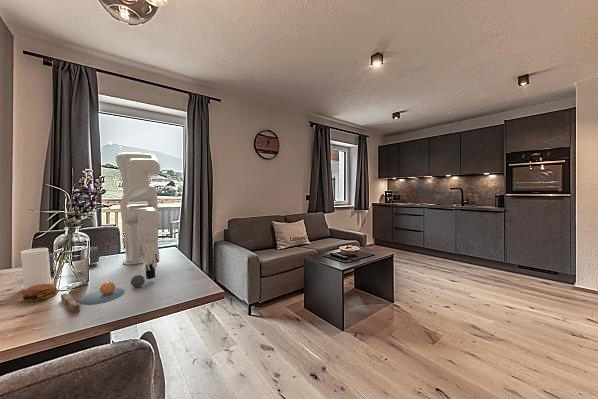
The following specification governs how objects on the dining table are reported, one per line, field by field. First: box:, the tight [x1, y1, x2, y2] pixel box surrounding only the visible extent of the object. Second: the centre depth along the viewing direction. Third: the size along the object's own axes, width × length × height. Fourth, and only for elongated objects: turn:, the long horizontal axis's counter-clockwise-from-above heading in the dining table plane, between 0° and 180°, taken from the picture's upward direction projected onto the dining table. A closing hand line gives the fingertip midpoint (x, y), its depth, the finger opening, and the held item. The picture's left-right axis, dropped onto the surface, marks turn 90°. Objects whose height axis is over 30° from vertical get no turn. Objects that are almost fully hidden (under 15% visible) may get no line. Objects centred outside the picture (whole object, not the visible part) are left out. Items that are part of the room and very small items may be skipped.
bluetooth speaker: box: [48, 246, 100, 272], centre depth 136 cm, size 23×9×10 cm, turn 134°
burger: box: [22, 283, 58, 302], centre depth 103 cm, size 10×9×5 cm
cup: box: [20, 247, 52, 291], centre depth 113 cm, size 8×8×16 cm
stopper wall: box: [60, 292, 81, 314], centre depth 96 cm, size 16×2×2 cm, turn 54°
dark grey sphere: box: [130, 274, 146, 288], centre depth 112 cm, size 5×5×5 cm
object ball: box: [99, 281, 116, 295], centre depth 105 cm, size 5×5×5 cm
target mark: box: [79, 287, 125, 305], centre depth 104 cm, size 14×14×1 cm
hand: (150, 278), depth 118 cm, fingers closed
